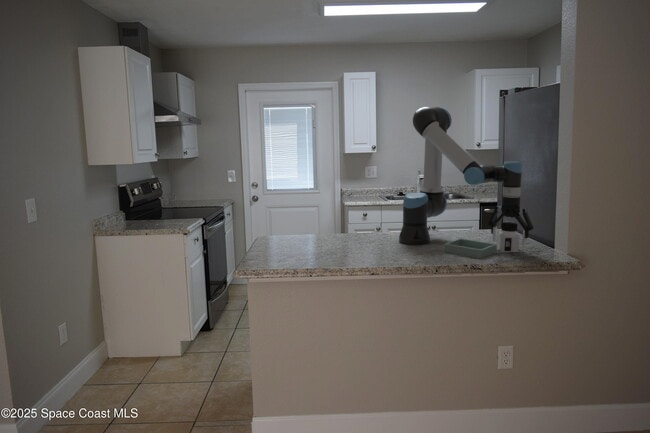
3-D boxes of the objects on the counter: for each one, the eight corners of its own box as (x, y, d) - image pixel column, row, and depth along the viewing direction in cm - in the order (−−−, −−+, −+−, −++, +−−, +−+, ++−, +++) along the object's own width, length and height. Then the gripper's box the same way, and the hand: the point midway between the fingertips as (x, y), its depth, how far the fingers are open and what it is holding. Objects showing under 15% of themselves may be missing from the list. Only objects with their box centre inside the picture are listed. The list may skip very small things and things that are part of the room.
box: (443, 251, 225) (444, 244, 225) (459, 245, 236) (460, 238, 235) (481, 258, 213) (481, 250, 213) (496, 251, 224) (496, 244, 223)
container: (518, 253, 221) (520, 224, 219) (500, 252, 223) (502, 223, 221) (515, 248, 229) (517, 221, 227) (498, 248, 230) (499, 220, 228)
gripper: (481, 195, 227) (479, 240, 231) (536, 199, 210) (533, 248, 214) (488, 193, 233) (486, 237, 236) (543, 197, 216) (540, 245, 220)
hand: (509, 243), depth 225 cm, fingers open, 13 cm apart
